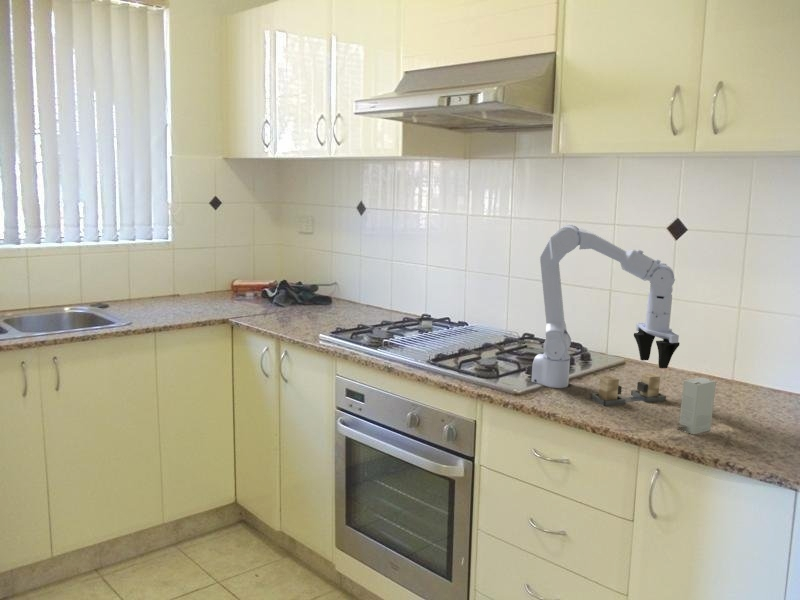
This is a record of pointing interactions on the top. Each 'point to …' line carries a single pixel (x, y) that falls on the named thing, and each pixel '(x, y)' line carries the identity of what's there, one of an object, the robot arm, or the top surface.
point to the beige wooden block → (649, 385)
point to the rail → (628, 398)
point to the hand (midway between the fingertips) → (653, 363)
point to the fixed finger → (609, 388)
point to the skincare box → (697, 405)
